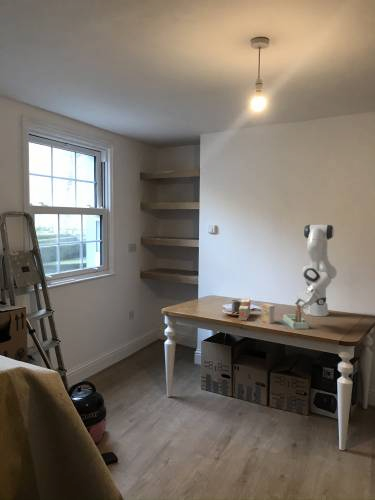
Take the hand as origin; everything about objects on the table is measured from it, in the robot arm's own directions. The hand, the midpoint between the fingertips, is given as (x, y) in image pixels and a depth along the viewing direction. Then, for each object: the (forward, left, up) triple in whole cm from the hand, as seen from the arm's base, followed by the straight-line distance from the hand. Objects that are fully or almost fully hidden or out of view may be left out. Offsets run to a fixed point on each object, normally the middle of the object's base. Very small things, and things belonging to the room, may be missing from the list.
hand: (298, 306), depth 264 cm
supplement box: (-12, -18, -15) cm, 26 cm away
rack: (-5, 0, -14) cm, 15 cm away
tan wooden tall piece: (0, 0, -13) cm, 13 cm away
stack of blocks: (-27, -31, -15) cm, 44 cm away
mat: (-5, 0, -15) cm, 16 cm away
